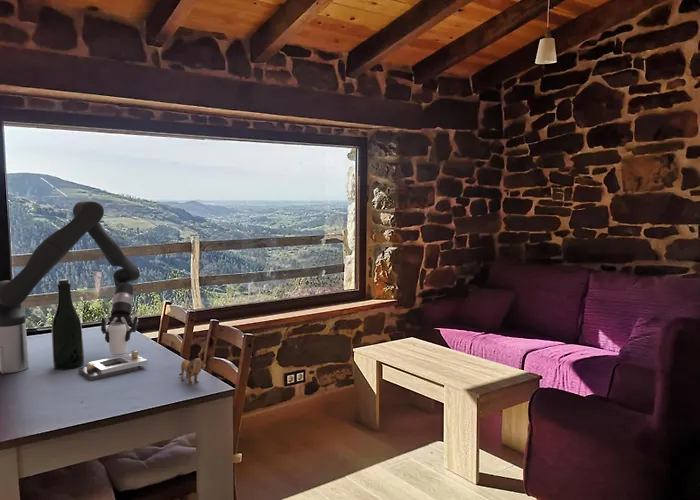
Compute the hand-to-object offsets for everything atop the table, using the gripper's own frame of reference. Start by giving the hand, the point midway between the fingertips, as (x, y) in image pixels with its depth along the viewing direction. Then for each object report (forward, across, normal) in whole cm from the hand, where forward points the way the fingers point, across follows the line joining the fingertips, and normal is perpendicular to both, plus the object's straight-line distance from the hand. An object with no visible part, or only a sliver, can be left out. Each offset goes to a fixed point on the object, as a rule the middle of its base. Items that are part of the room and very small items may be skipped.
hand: (117, 341), depth 215 cm
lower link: (+17, 0, -7) cm, 19 cm away
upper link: (+15, +3, -7) cm, 17 cm away
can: (+3, 0, +5) cm, 6 cm away
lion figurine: (+30, +31, -20) cm, 48 cm away
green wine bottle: (+10, -16, +1) cm, 19 cm away
